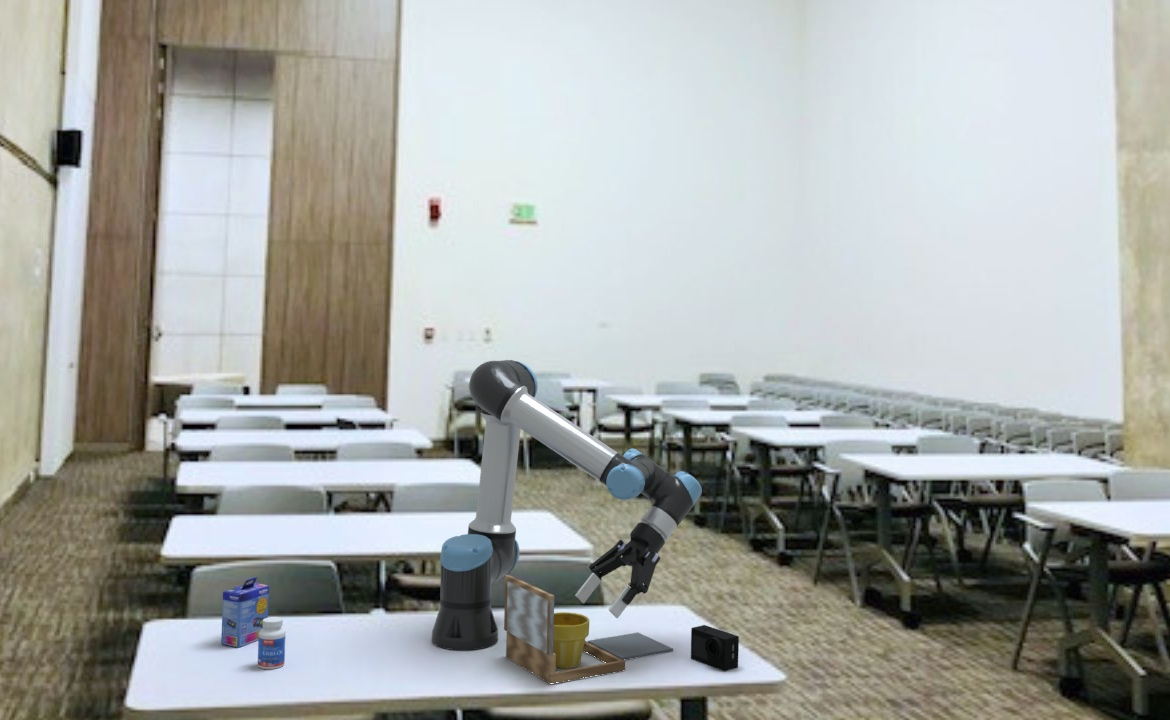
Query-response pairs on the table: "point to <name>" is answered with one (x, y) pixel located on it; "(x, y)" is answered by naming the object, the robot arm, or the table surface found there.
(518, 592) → the cold frame
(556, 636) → the plant pot
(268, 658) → the pill bottle
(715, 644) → the digital camera
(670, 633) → the table surface
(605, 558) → the robot arm
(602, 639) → the mat
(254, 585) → the ink cartridge box
